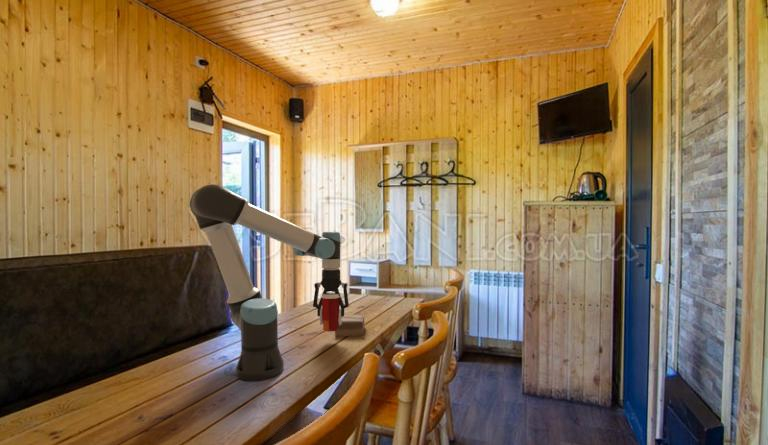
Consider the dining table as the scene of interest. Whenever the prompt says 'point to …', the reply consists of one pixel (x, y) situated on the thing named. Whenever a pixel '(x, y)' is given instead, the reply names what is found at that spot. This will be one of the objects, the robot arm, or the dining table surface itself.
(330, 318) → the coffee cup
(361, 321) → the riser
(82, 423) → the dining table surface
